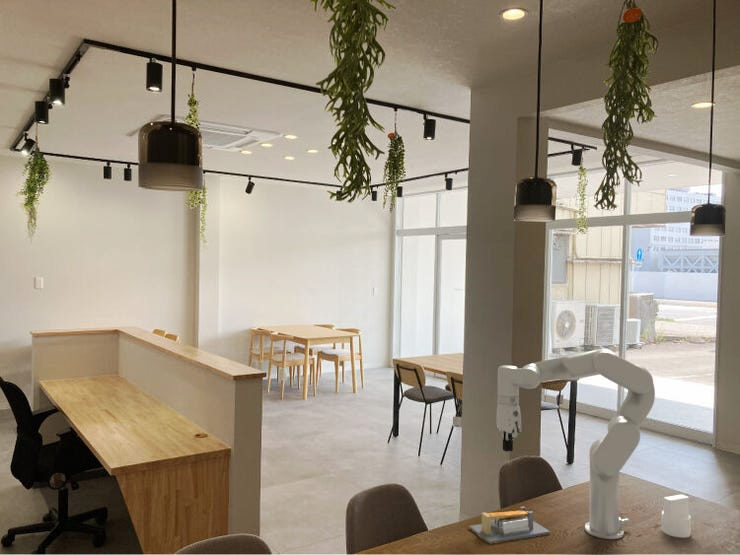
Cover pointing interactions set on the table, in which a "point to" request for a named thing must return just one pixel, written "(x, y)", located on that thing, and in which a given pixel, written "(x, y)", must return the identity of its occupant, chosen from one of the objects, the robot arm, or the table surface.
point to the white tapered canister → (676, 516)
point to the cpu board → (495, 536)
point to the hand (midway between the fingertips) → (507, 450)
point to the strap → (508, 514)
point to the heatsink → (510, 525)
